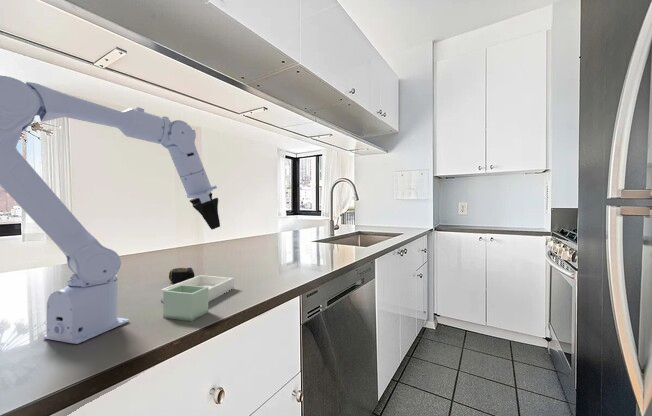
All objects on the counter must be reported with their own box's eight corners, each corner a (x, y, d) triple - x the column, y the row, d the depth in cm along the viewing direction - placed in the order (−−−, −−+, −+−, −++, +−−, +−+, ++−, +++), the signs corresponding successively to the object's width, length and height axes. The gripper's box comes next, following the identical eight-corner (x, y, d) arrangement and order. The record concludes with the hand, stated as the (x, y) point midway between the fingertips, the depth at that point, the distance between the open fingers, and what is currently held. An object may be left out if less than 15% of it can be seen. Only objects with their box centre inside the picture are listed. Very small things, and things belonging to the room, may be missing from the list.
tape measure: (194, 283, 83) (194, 270, 83) (168, 285, 80) (168, 272, 80) (193, 277, 89) (193, 266, 89) (169, 280, 86) (169, 268, 86)
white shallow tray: (200, 306, 64) (200, 293, 64) (160, 301, 66) (160, 289, 66) (234, 288, 77) (234, 277, 77) (200, 285, 80) (200, 275, 80)
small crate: (192, 321, 56) (192, 294, 56) (163, 317, 57) (163, 291, 57) (208, 312, 60) (208, 287, 60) (181, 308, 62) (181, 284, 62)
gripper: (213, 169, 61) (234, 224, 65) (205, 167, 74) (223, 213, 78) (180, 179, 58) (204, 236, 62) (177, 175, 70) (197, 223, 75)
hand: (213, 224), depth 70 cm, fingers open, 7 cm apart
